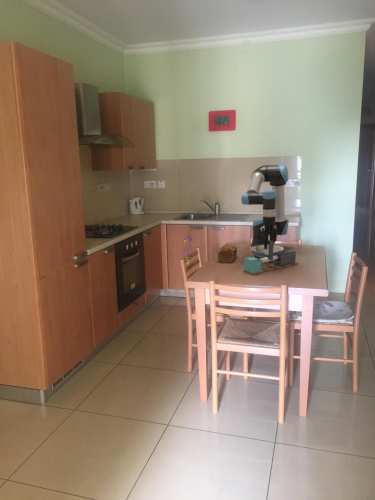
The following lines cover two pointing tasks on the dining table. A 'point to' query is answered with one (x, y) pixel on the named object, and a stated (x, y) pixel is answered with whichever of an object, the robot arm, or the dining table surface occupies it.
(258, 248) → the ramen bowl
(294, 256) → the dark grey block
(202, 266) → the dining table surface
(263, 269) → the walnut board
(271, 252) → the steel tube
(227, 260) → the bread
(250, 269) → the teal block
